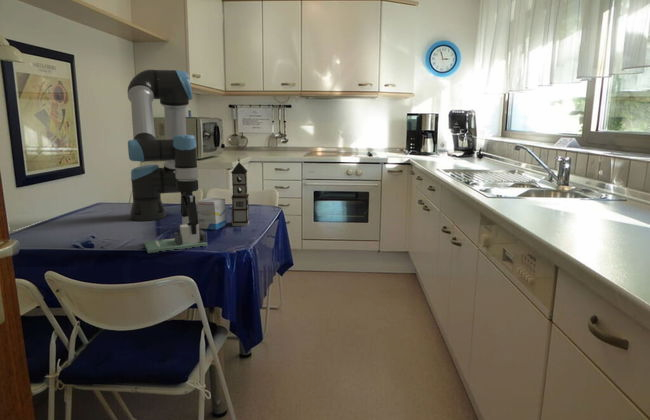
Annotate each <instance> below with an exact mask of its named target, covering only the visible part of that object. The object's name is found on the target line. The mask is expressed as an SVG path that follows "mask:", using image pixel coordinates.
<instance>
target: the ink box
mask: <svg viewBox="0 0 650 420" xmlns="http://www.w3.org/2000/svg"><path fill="white" fill-rule="evenodd" d="M196 210H197V217H198V222H199V223H198V225H199V230H213V231H217V230H219V229H221V228H224V227H226V226H227V212H226V198H219V197H218V198H217V197H205V198H202V199H199V200H196Z"/></svg>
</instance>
